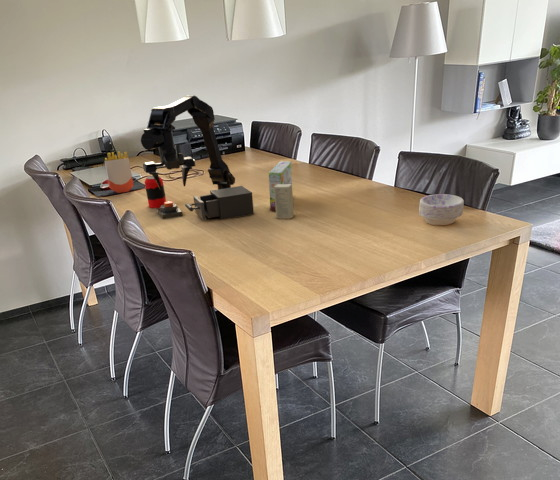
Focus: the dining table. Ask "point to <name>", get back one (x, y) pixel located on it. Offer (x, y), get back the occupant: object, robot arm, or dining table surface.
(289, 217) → the cosmetic box
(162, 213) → the panel
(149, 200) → the soda can
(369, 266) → the dining table surface
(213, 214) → the drawer
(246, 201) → the dark grey hollow box
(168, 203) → the button
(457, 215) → the grey stone bowl
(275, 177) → the snack box
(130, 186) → the french fries container
